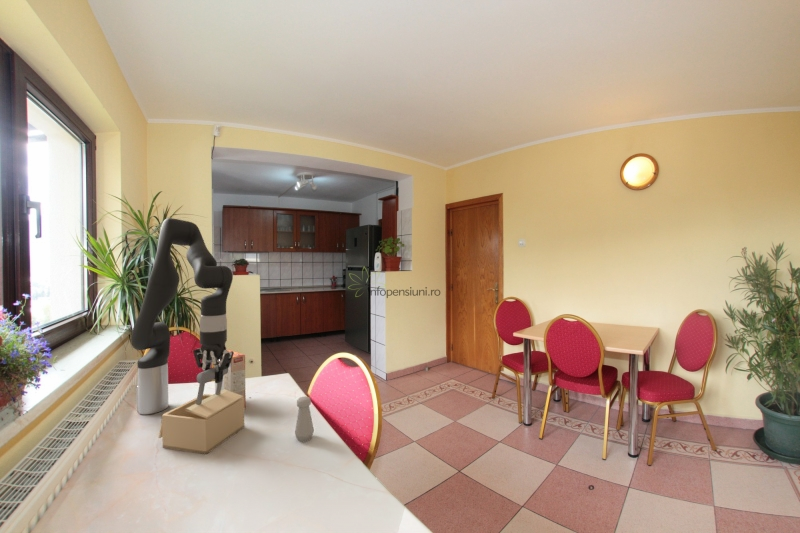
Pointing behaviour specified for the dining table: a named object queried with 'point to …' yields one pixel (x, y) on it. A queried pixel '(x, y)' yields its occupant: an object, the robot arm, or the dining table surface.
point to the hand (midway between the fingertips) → (213, 381)
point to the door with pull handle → (215, 401)
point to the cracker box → (235, 376)
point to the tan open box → (200, 427)
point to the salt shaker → (304, 420)
